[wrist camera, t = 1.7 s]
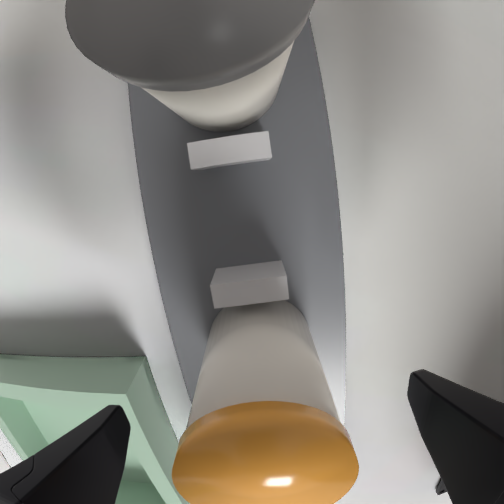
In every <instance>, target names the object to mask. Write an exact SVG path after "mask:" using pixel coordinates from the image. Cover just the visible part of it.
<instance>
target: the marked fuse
mask: <svg viewBox="0 0 504 504" xmlns="http://www.w3.org/2000/svg"><path fill="white" fill-rule="evenodd" d="M358 472H359V465H358V460H357V457H356V454H355V451H354V448H353V445H352V442H351V439H350V436H349V434H348V432H347V430H346V428H345V427H344V426H343V425H342V423H341V422H340V419H339V416H338V413H337V410H336V407H335V404H334V401H333V398H332V395H331V392H330V389H329V386H328V383H327V380H326V377H325V374H324V371H323V368H322V365H321V362H320V359H319V356H318V353H317V350H316V347H315V344H314V341H313V338H312V335H311V333H310V330H309V327H308V324H307V322H306V320H305V318H304V316H303V315H302V313H301V312H300V311H299V310H298V309H297V308H296V307H295V306H294V305H292V304H291V303H289V302H288V301H286V300H280V301H273V302H265V303H257V304H249V305H241V306H233V307H224V308H223V309H222V310H221V311H220V312H219V313H218V315H217V316H216V318H215V320H214V322H213V324H212V326H211V330H210V334H209V338H208V342H207V346H206V350H205V354H204V358H203V362H202V366H201V370H200V374H199V378H198V382H197V386H196V390H195V394H194V398H193V403H192V407H191V411H190V415H189V419H188V424H187V428H186V430H185V432H184V433H183V435H182V436H181V438H180V441H179V444H178V447H177V451H176V455H175V460H174V464H173V468H172V480H173V484H174V486H175V488H176V490H177V491H178V492H179V494H180V495H181V496H182V497H183V498H184V499H185V500H186V501H187V502H189V503H190V504H334V503H335V502H337V501H338V500H339V499H341V498H342V497H343V496H344V495H345V494H346V493H347V492H348V491H349V490H350V489H351V487H352V486H353V485H354V483H355V481H356V479H357V476H358Z"/></svg>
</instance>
